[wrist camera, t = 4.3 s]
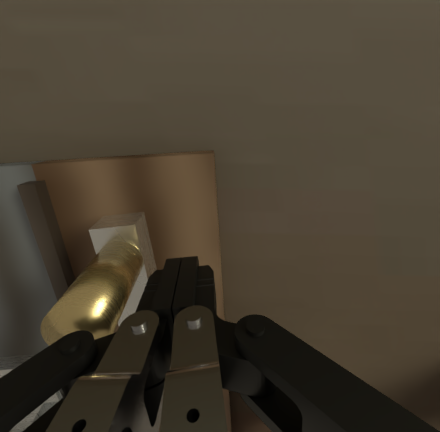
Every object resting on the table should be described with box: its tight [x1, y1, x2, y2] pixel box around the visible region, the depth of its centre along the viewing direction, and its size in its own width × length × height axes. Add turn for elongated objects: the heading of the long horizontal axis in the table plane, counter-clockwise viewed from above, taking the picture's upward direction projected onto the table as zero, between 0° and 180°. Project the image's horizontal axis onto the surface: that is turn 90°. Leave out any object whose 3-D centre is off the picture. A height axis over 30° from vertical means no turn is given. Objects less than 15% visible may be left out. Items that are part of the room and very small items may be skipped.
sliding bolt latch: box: [0, 150, 231, 432], centre depth 21 cm, size 21×34×3 cm, turn 3°
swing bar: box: [41, 212, 171, 368], centre depth 14 cm, size 16×4×7 cm, turn 6°
